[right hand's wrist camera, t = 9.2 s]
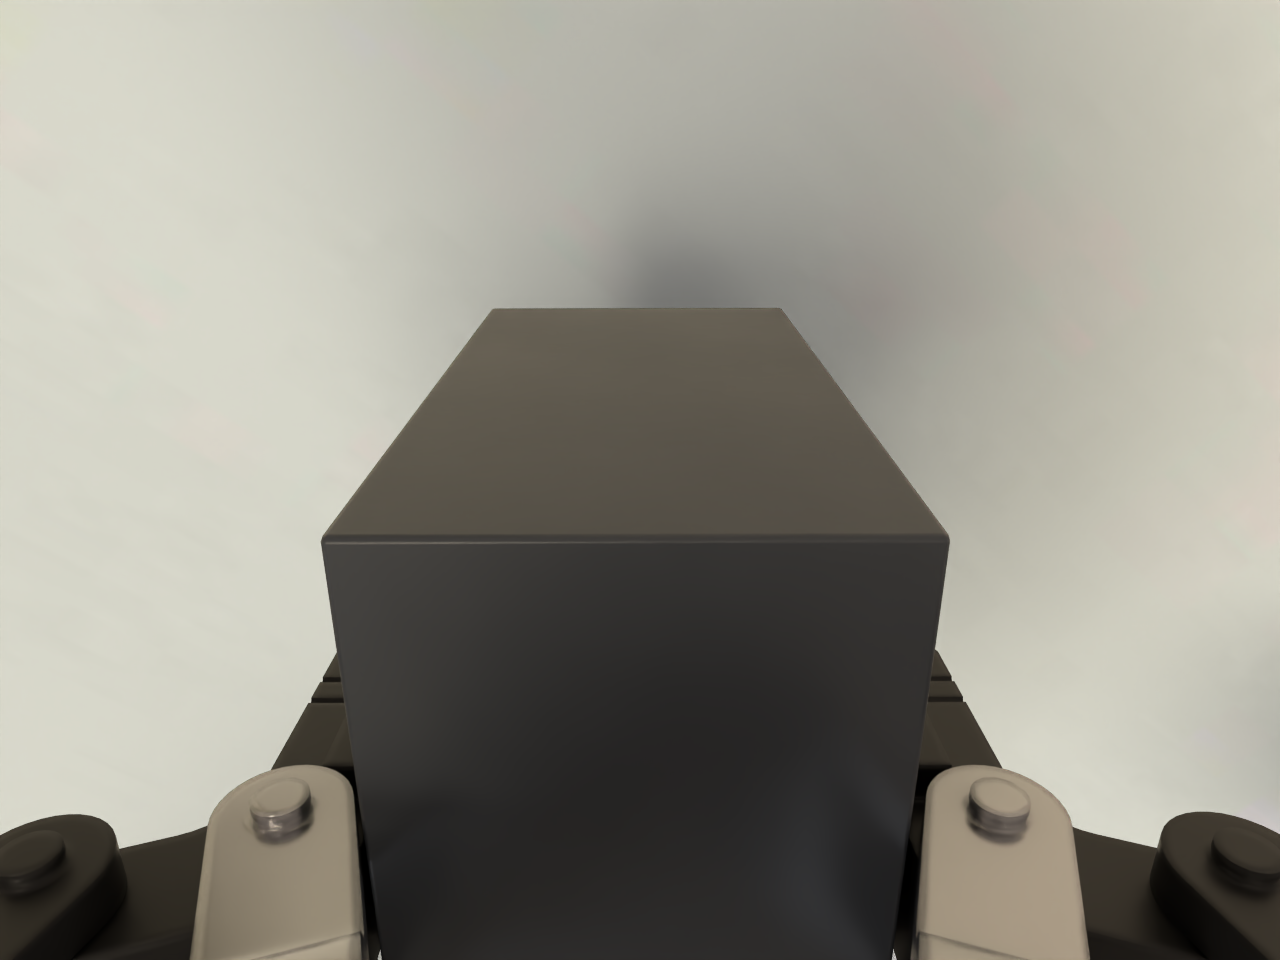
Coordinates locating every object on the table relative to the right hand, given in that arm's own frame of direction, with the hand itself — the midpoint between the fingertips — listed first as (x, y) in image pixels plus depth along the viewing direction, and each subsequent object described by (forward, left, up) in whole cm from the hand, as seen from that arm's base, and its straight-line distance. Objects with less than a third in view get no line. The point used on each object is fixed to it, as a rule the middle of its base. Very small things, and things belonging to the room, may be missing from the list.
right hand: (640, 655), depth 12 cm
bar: (+7, +4, -4) cm, 9 cm away
